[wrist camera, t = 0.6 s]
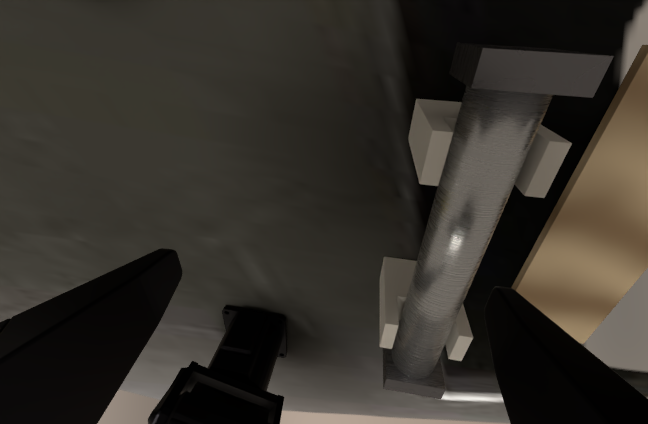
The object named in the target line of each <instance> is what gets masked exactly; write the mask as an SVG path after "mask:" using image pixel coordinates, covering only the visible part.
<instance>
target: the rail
mask: <svg viewBox="0 0 648 424" xmlns="http://www.w3.org/2000/svg"><path fill="white" fill-rule="evenodd" d="M613 57H614V56H608V55H600V54H592V53H584V52H576V51H567V50H559V49H549V48H533V47H516V46H500V45H484V44H467V43H457V45H456V49H455V53H454V57H453V61H452V65H451V69H450V73H449V74H450V75H452V76H453V77H455V78H456V79H458V80H459V81H461V82H462V83H464V84H465V85H466V89H465V93H464V96H463V100H462V103H461V107H460V110H459V114H458V117H457V121H456V124H455V128H454V131H453V135H452V139H451V142H450V146H449V149H448V153H447V156H446V160H445V163H444V167H443V170H442V174H441V178H440V181H439V185H438V188H437V191H436V195H435V198H434V202H433V206H432V209H431V213H430V216H429V220H428V223H427V227H426V230H425V234H424V237H423V241H422V244H421V248H420V251H419V255H418V259H417V262H416V266H415V269H414V273H413V276H412V280H411V283H410V287H409V290H408V294H407V297H406V301H405V304H404V308H403V312H402V315H401V319H400V322H399V326H398V329H397V333H396V336H395V340H394V343H393V347H392V349H388V348H383V389H389V390H394V391H400V392H405V393H410V394H416V395H421V396H426V397H432V398H437V399H441V398H442V396H443V394H444V392H445V384H444V379H443V373H442V368H441V362H440V354H441V352H442V350H443V347H444V345H445V343H446V341H447V338H448V336H449V334H450V331H451V329H452V327H453V324H454V322H455V320H456V318H457V315H458V313H459V311H460V308H461V306H462V304H463V301H464V299H465V297H466V295H467V292H468V290H469V288H470V285H471V283H472V281H473V278H474V276H475V274H476V272H477V269H478V267H479V265H480V262H481V260H482V258H483V255H484V253H485V251H486V249H487V246H488V244H489V242H490V239H491V237H492V235H493V232H494V230H495V228H496V226H497V223H498V221H499V219H500V216H501V214H502V212H503V210H504V207H505V205H506V203H507V200H508V198H509V196H510V193H511V191H512V189H513V187H514V184H515V182H516V180H517V177H518V175H519V173H520V170H521V168H522V166H523V164H524V161H525V159H526V157H527V154H528V152H529V150H530V147H531V145H532V143H533V141H534V138H535V136H536V134H537V131H538V129H539V127H540V124H541V122H542V120H543V118H544V115H545V113H546V111H547V108H548V106H549V104H550V101H551V99H552V97H553V95H564V96H577V97H590V98H593V96H594V94H595V92H596V90H597V88H598V87H599V85H600V83H601V81H602V79H603V77H604V75H605V73H606V71H607V69H608V67H609V65H610V63H611V61H612V59H613Z"/></svg>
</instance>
